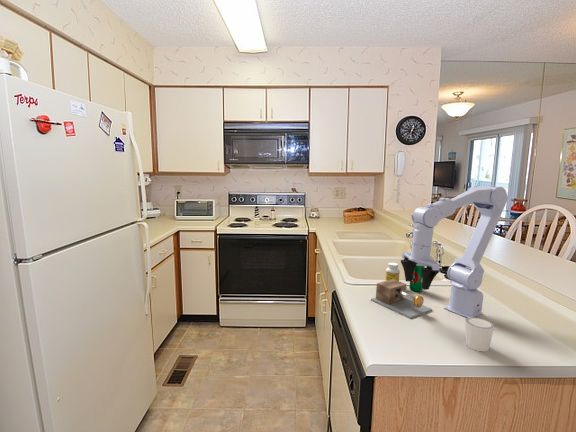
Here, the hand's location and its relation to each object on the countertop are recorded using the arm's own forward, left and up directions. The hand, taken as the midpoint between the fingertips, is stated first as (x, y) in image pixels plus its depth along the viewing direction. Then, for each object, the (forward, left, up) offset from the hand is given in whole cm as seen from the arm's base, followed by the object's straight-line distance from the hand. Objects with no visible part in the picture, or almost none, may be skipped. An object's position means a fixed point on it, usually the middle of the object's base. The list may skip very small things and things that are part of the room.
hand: (416, 285), depth 105 cm
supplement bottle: (+22, -16, -11) cm, 30 cm away
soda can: (+14, -21, -11) cm, 28 cm away
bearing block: (+12, -3, -11) cm, 17 cm away
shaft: (+5, -3, -9) cm, 11 cm away
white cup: (-21, +1, -11) cm, 23 cm away
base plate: (+8, -3, -11) cm, 14 cm away
